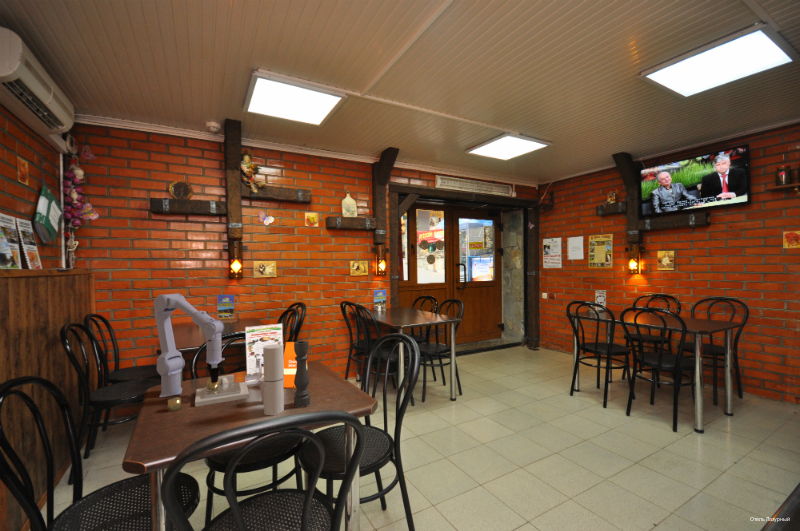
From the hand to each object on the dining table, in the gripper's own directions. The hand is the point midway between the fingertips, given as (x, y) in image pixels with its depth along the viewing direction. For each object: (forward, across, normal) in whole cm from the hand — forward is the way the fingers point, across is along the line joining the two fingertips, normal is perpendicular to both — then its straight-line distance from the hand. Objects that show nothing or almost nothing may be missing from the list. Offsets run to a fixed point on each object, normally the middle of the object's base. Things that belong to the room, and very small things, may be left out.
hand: (214, 380), depth 155 cm
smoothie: (+7, -18, -19) cm, 27 cm away
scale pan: (+5, 0, -3) cm, 6 cm away
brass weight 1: (+7, -8, +14) cm, 18 cm away
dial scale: (+7, 0, -3) cm, 7 cm away
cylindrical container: (+7, -30, -20) cm, 37 cm away
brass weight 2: (+3, 0, +1) cm, 3 cm away
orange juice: (+7, -1, -34) cm, 35 cm away
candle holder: (+7, -28, -31) cm, 42 cm away
